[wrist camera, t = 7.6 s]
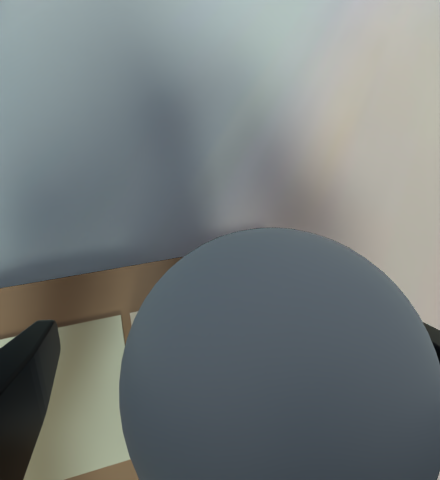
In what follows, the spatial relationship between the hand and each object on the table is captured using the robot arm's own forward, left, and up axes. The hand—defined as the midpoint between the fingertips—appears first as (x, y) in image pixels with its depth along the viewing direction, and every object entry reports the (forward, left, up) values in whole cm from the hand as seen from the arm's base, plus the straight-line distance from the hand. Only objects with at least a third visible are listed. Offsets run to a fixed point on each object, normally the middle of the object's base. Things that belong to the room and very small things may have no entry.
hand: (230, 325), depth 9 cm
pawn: (-1, +1, -6) cm, 6 cm away
